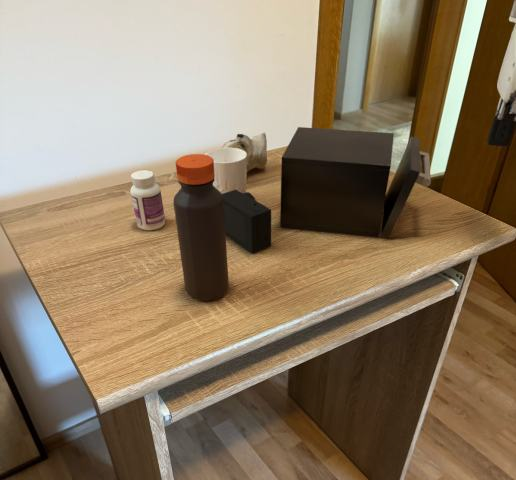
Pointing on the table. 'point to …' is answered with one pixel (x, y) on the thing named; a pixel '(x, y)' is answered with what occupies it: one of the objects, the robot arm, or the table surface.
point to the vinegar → (201, 228)
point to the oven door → (404, 184)
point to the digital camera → (247, 221)
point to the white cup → (229, 169)
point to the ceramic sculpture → (251, 149)
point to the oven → (335, 181)
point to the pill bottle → (147, 201)
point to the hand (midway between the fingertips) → (497, 143)
